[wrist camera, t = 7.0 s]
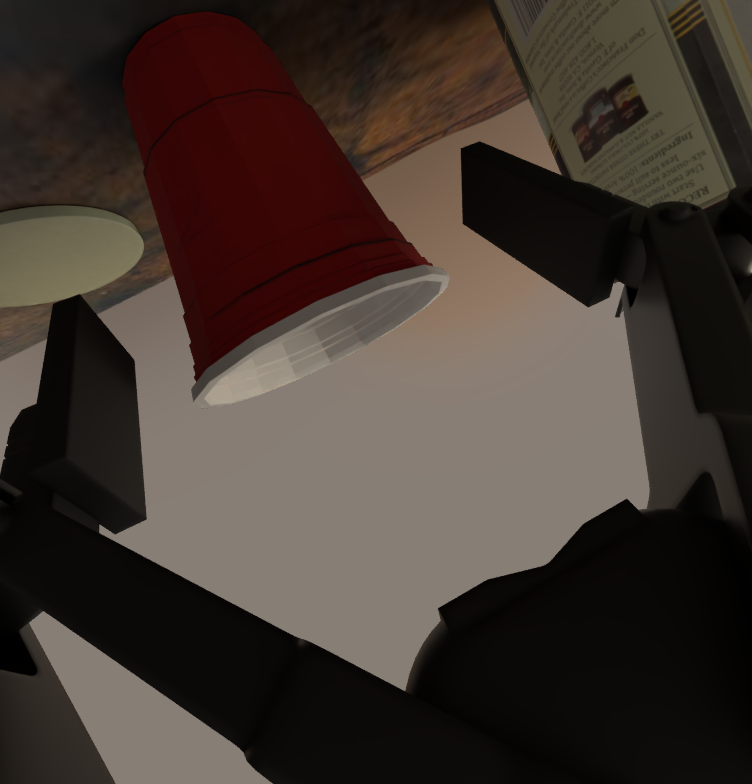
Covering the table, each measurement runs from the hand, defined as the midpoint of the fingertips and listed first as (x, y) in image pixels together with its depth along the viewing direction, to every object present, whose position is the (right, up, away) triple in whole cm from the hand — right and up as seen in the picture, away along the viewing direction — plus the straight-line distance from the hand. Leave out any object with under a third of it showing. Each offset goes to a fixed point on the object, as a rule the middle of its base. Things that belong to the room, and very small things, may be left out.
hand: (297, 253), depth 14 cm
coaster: (-16, +3, +9) cm, 18 cm away
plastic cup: (-4, +8, +2) cm, 9 cm away
